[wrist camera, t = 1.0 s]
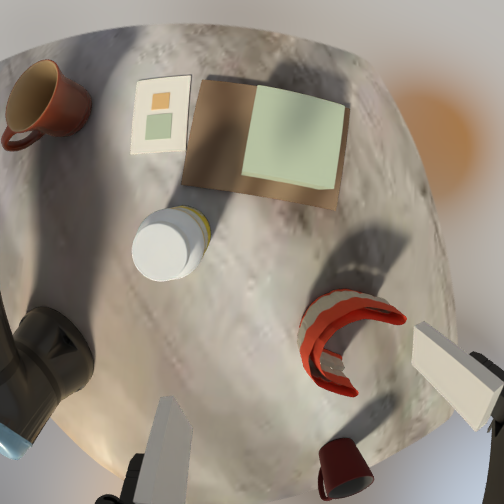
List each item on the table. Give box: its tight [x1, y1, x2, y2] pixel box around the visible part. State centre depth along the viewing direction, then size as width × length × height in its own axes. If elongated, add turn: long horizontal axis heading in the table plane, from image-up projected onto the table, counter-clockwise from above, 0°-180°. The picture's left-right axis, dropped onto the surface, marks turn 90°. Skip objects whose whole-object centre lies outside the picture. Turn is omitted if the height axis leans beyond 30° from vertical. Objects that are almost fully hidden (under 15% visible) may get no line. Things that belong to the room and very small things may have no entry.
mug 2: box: [318, 438, 374, 501], centre depth 37 cm, size 12×9×11 cm
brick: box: [241, 85, 345, 190], centre depth 26 cm, size 9×9×5 cm
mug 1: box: [1, 60, 92, 151], centre depth 22 cm, size 12×9×10 cm
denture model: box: [297, 289, 407, 397], centre depth 31 cm, size 12×10×8 cm
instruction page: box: [130, 75, 191, 154], centre depth 28 cm, size 7×10×1 cm
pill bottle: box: [132, 206, 211, 281], centre depth 26 cm, size 6×6×12 cm
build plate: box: [181, 80, 350, 211], centre depth 29 cm, size 18×13×1 cm
